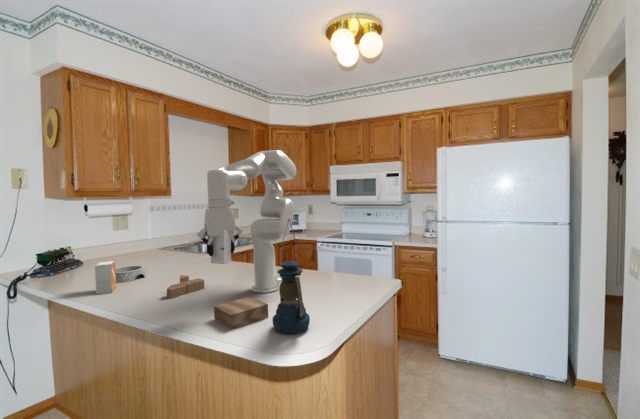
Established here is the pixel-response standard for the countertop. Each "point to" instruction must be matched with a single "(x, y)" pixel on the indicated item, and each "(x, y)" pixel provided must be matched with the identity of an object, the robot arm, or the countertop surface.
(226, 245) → the skincare box
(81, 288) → the countertop surface
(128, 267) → the dog bowl
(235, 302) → the brown cardboard box
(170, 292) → the wooden block set
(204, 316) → the countertop surface
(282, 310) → the lantern
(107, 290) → the small box
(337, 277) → the countertop surface
